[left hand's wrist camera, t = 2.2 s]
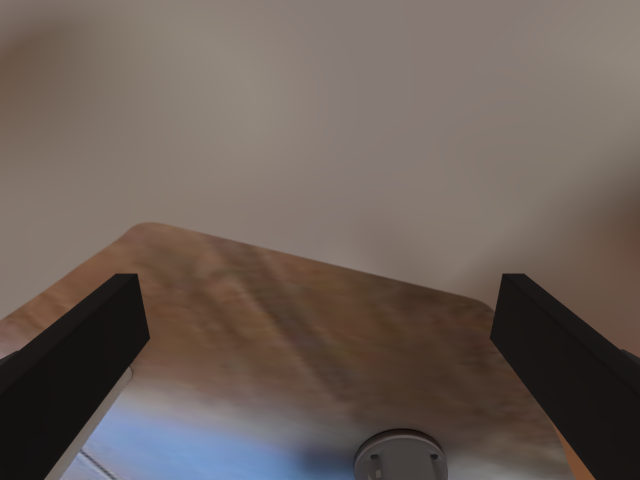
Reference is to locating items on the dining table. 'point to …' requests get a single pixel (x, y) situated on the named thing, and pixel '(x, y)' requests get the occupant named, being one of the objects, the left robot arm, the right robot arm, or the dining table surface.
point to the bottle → (89, 428)
